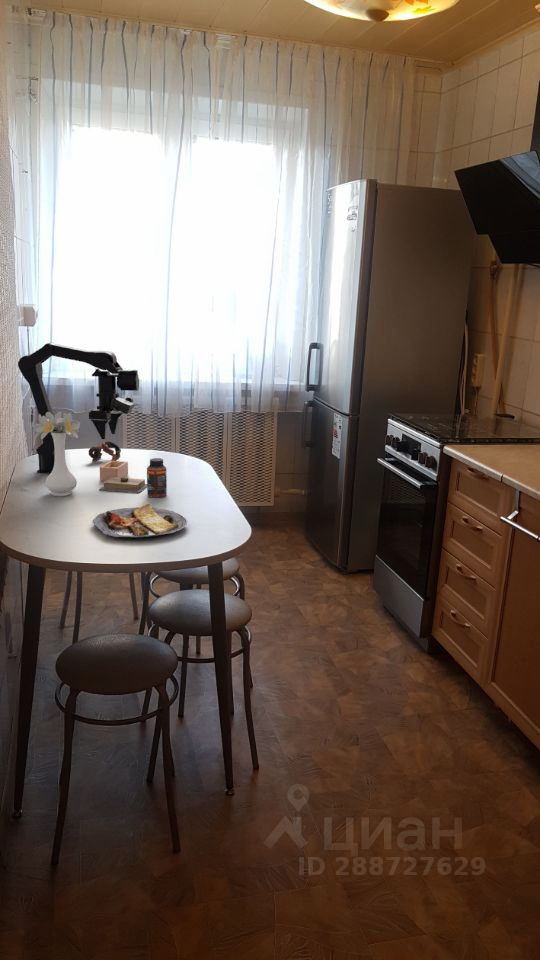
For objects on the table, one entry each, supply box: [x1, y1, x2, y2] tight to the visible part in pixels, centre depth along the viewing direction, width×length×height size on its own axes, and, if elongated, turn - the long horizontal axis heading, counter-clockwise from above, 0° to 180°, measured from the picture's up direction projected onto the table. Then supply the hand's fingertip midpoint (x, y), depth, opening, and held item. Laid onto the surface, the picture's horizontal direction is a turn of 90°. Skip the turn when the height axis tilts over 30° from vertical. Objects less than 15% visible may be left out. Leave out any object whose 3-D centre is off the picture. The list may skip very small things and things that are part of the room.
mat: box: [98, 483, 147, 494], centre depth 242 cm, size 13×10×1 cm
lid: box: [103, 476, 146, 491], centre depth 241 cm, size 7×11×3 cm, turn 81°
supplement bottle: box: [146, 457, 168, 498], centre depth 233 cm, size 6×6×11 cm
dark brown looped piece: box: [88, 440, 122, 462], centre depth 275 cm, size 12×10×8 cm
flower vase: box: [33, 411, 81, 497], centre depth 230 cm, size 13×18×25 cm
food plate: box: [91, 503, 188, 539], centre depth 203 cm, size 25×23×4 cm
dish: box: [99, 460, 129, 482], centre depth 253 cm, size 6×10×4 cm, turn 171°
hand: (108, 436), depth 257 cm, fingers open, 9 cm apart
